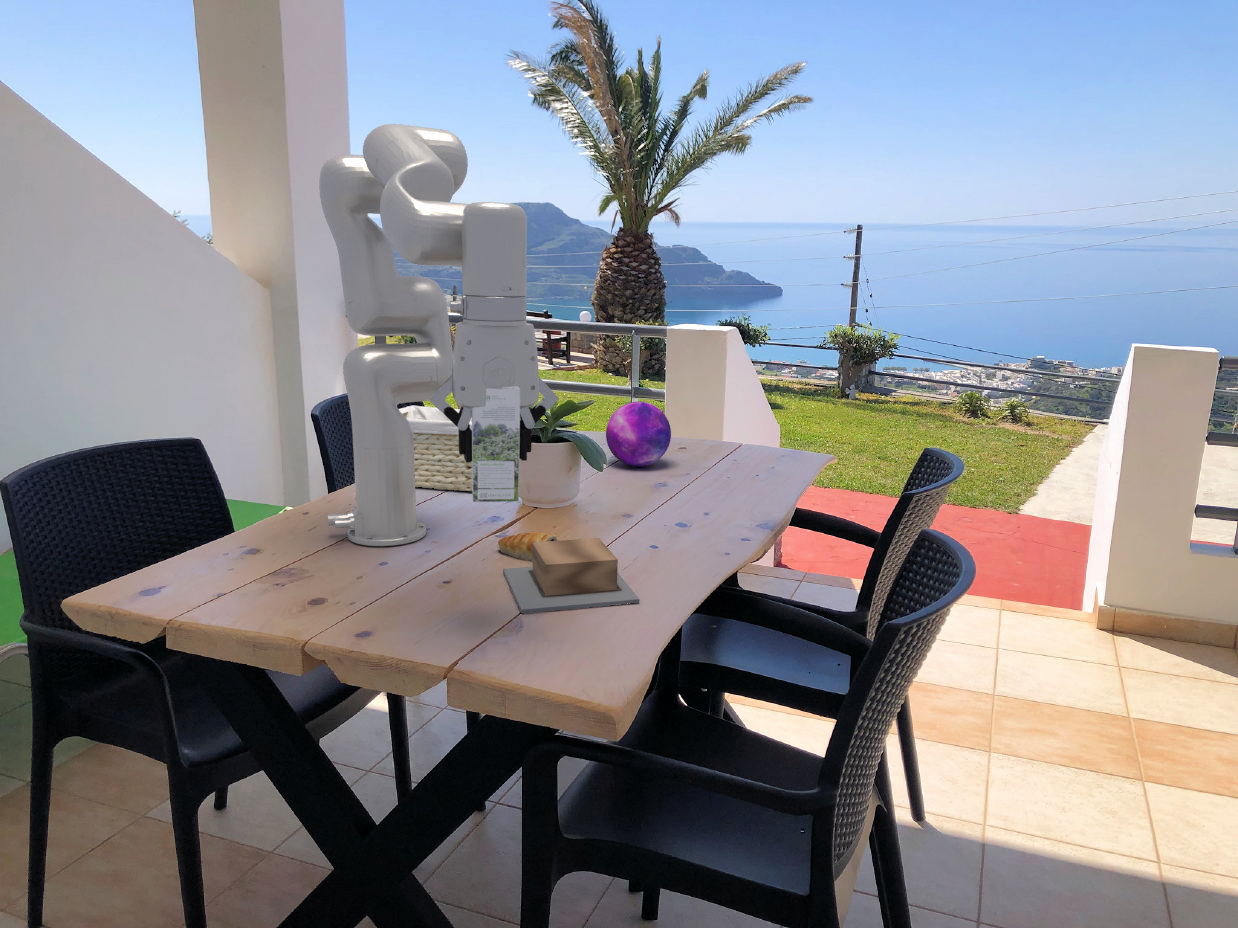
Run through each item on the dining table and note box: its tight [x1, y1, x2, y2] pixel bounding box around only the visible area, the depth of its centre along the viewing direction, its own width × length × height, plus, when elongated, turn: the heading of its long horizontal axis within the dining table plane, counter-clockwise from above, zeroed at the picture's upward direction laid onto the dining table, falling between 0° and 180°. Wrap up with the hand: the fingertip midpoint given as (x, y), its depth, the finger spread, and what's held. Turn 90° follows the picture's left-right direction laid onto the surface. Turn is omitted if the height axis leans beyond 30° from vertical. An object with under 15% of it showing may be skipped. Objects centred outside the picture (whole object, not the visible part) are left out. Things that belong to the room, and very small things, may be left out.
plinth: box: [528, 537, 621, 598], centre depth 120 cm, size 11×11×5 cm
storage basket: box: [398, 405, 472, 492], centre depth 177 cm, size 24×16×15 cm
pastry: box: [497, 531, 559, 562], centre depth 133 cm, size 9×7×4 cm
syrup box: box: [471, 386, 521, 503], centre depth 104 cm, size 6×6×14 cm
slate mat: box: [502, 566, 640, 614], centre depth 119 cm, size 16×16×1 cm
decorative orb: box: [605, 401, 672, 468], centre depth 195 cm, size 15×15×15 cm
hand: (495, 457), depth 105 cm, fingers closed on syrup box, 6 cm apart
